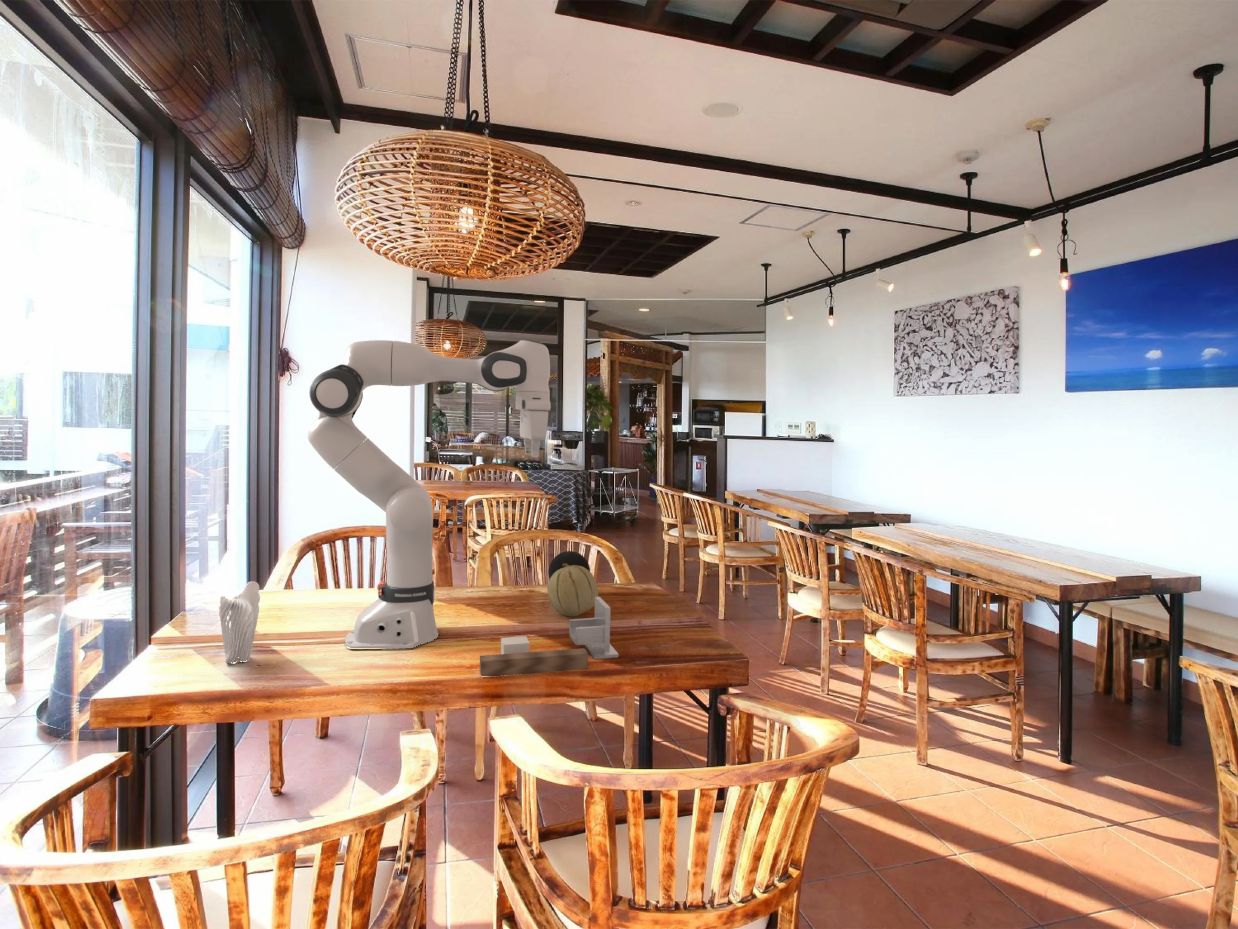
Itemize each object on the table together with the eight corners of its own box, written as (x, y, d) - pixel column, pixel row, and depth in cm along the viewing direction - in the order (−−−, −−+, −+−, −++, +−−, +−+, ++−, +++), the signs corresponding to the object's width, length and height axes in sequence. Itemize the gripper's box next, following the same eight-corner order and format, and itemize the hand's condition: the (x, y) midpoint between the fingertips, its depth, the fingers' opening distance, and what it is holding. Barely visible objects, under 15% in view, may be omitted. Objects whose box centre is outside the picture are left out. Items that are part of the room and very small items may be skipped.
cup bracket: (578, 660, 159) (579, 610, 159) (566, 644, 171) (567, 597, 170) (618, 657, 162) (619, 608, 162) (604, 641, 174) (606, 595, 173)
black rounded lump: (557, 606, 205) (558, 557, 204) (541, 595, 217) (542, 549, 216) (596, 601, 211) (597, 553, 210) (579, 591, 223) (580, 546, 222)
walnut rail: (480, 679, 148) (480, 661, 148) (479, 673, 151) (479, 655, 151) (587, 670, 154) (588, 653, 154) (584, 665, 158) (584, 648, 158)
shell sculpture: (215, 670, 148) (214, 590, 147) (220, 658, 156) (219, 581, 155) (258, 666, 152) (256, 587, 150) (261, 654, 159) (260, 578, 158)
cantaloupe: (596, 623, 188) (597, 570, 187) (543, 622, 189) (544, 569, 188) (599, 608, 203) (600, 559, 202) (550, 607, 203) (551, 558, 202)
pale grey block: (503, 661, 158) (503, 644, 158) (500, 654, 163) (501, 638, 162) (529, 659, 160) (529, 643, 159) (525, 652, 164) (526, 636, 164)
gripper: (514, 403, 186) (513, 453, 187) (526, 402, 166) (526, 458, 167) (537, 404, 188) (536, 453, 189) (552, 403, 168) (551, 458, 169)
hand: (531, 456), depth 178 cm, fingers open, 8 cm apart
